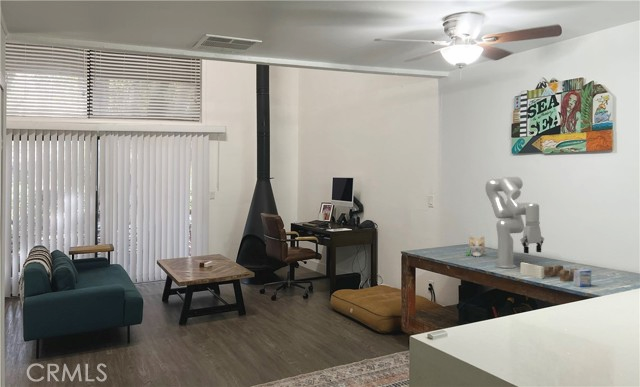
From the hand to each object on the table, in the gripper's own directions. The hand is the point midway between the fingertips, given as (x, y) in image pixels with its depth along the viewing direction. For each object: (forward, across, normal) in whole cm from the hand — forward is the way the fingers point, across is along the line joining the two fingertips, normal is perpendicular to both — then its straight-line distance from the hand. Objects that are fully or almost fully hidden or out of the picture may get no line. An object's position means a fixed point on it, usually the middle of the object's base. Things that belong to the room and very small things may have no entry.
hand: (532, 252), depth 281 cm
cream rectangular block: (+14, 0, -1) cm, 14 cm away
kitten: (+13, -15, -69) cm, 72 cm away
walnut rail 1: (+14, -11, +5) cm, 19 cm away
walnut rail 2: (+14, -11, +16) cm, 24 cm away
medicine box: (+15, -6, +29) cm, 33 cm away
